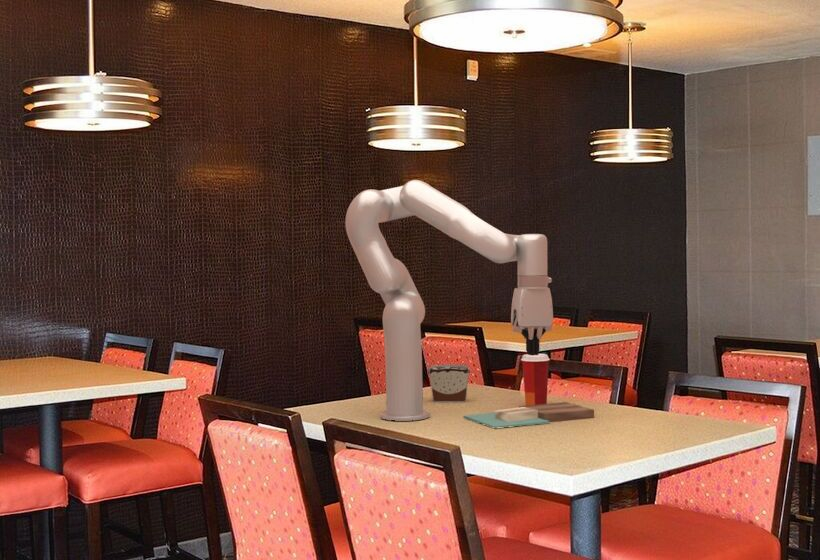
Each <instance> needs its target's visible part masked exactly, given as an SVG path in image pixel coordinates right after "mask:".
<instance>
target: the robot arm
mask: <svg viewBox="0 0 820 560" xmlns="http://www.w3.org/2000/svg"><path fill="white" fill-rule="evenodd" d="M413 216H415V217H417V218H418V219H421V220H422V221H424V222H426V223H427V224H428V225H431V226H433V227H434V228H435V229H437V230H439V231H441V232H442V233H444V234H446V235H447V236H448V237H450V238H452V239H454V240H457V241H458V242H460V243H462V244H463V245H465V246H467V247H469V249H472V250H474V251H475V252H477V253H478V254H480V255H481V256H483V257H484V258H487V259H488V260H490V261H491V262H493V263H496V264H505V263H509V262H510V263H511V262H517V287H515V288H514V290H513V296H512V302H511V313H510V324H511V325H512V327H513V328H512V332H513V333H514V332H515V333H519V334H521V335H522V336H523V338H524V339H525V351H526V354H528V355H538V354H540V340H541V339H542V338H543V337H542V336H544V335H545V333H547V332H551V331H553V326H552V325H553V322H554V310H553V309H554V307H553V298H552V293H551V289H550V287H548V286H549V283H552V282H553V280H552V278H551V277H549V276H548V238H547V236H546V235H545V234H541V233H525V234H523V233H522V234H519V235H518V234H510V233H504V232H503V231H501V230H499V229H498V228H497V227H494V226H493V225H491V224H490V223H488V222H486V221H484V220H483V219H482V218H480V217H478V216H477V215H475V214H474V213H473V212H472V211H471V210H470V209H469V208H467V207H466V206H465V205H463V204H462V203H460V202H458V201H456V200H455V199H453V198H451V197H449V196H448V195H446V194H445V193H442V192H441V191H439V190H438V189H436V188H434V187H433V186H431V185H430V184H428V183H427V182H424V181H423V180H418V179H412V180H409V181H407V182H406V183H405V184H404V185H400V186H397V187H396V186H395V187H391V188H386V189H382V190H378V189H372V188H371V189H365V190H362V191H361V192H359V193H358V194H357V195H356V196H355V197H354V198H353V199H352V201H351V202H350V204H349V206H348V208H347V210H346V214H345V222H344V223H345V230H346V235H347V237H348V240H349V242H350V245H351V246H352V249H353V251H354V253H355V256H356V258H357V260H358V262H359V263H358V264H360V267H361V269H362V271H363V273H364V276H365V278H366V280H367V283H368V285H369V287H370V289H372V291H374V292H376V293H378V294H379V295H380V297H381V299H382V301H383V303H384V304H385V306H384V309H383V313H382V327H383V328H382V330H383V339H384V359H385V365H384V366H385V398H386V400H385V402H386V405H385V406H386V410H385V411H382V412H381V413H380V419H383V420H385V419H386V420H385V421H391V420H395V422H410V421H411V422H412V420H413V421H421V420H424V419H428V418H429V417H430V411H428V410H425V409H424V397H423V396H424V391H423V389H424V388H423V387H424V386H423V356H422V355H423V354H422V353H423V352H422V351H423V350H422V349H423V348H422V335H421V333H422V332H421V323H423V321H424V319H425V317H426V316H425V315H426V307H425V304H424V301H423V299H422V297H421V295H420V293H419V292H418V289H417V287H416V285H415V282H414V281H413V278H412V276H411V274H410V272H409V270H408V268H407V266H405V264H404V263H403V262H402V261H401V260H399V259H398V258H395V257H394V256H393V253H392V252H391V250H390V248H389V246H388V244H387V241H386V239H385V237H384V235H383V233H382V232H381V230H380V227H379V223H380V224H381V223H386V222H391V221H394V220H399V219H404V218H409V217H413Z"/></svg>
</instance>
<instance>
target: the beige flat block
mask: <svg viewBox="0 0 820 560" xmlns="http://www.w3.org/2000/svg"><path fill="white" fill-rule="evenodd" d="M494 413H495V419H499V420H503V421H507V422H511V421H519V420H526V419H534V418H538V410H535V409H531V408H526V407H519V406H518V407H512V408H506V409H505V408H504V409H497V410H494Z"/></svg>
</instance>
